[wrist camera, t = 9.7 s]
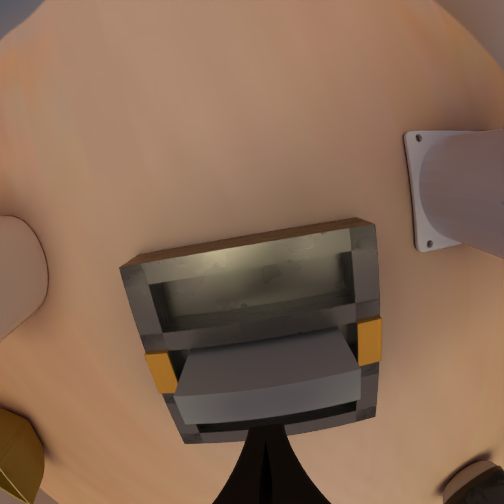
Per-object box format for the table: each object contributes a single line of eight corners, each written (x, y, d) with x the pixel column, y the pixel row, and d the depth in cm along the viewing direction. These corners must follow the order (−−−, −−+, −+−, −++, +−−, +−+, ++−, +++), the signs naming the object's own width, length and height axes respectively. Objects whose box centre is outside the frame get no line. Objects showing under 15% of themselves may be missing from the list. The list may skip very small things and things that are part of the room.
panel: (332, 316, 19) (360, 368, 13) (334, 342, 19) (360, 399, 13) (194, 339, 19) (173, 396, 13) (201, 364, 19) (185, 424, 14)
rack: (357, 217, 18) (377, 224, 15) (363, 392, 21) (376, 419, 18) (137, 254, 19) (117, 269, 15) (190, 418, 22) (184, 446, 18)
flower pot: (13, 439, 25) (-16, 478, 16) (-12, 391, 23) (-51, 430, 14) (60, 460, 25) (33, 508, 16) (34, 411, 23) (-5, 462, 14)
